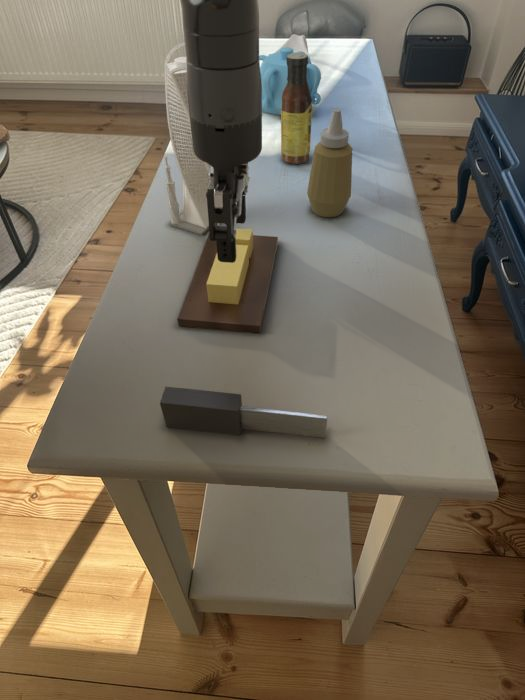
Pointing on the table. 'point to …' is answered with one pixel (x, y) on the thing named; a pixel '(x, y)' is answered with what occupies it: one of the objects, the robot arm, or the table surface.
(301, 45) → the spoon rest
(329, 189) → the squeeze bottle
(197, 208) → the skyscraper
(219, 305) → the board
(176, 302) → the table surface
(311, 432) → the knife
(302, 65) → the sauce bottle
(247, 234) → the butter slice
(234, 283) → the butter
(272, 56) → the decorative pot
